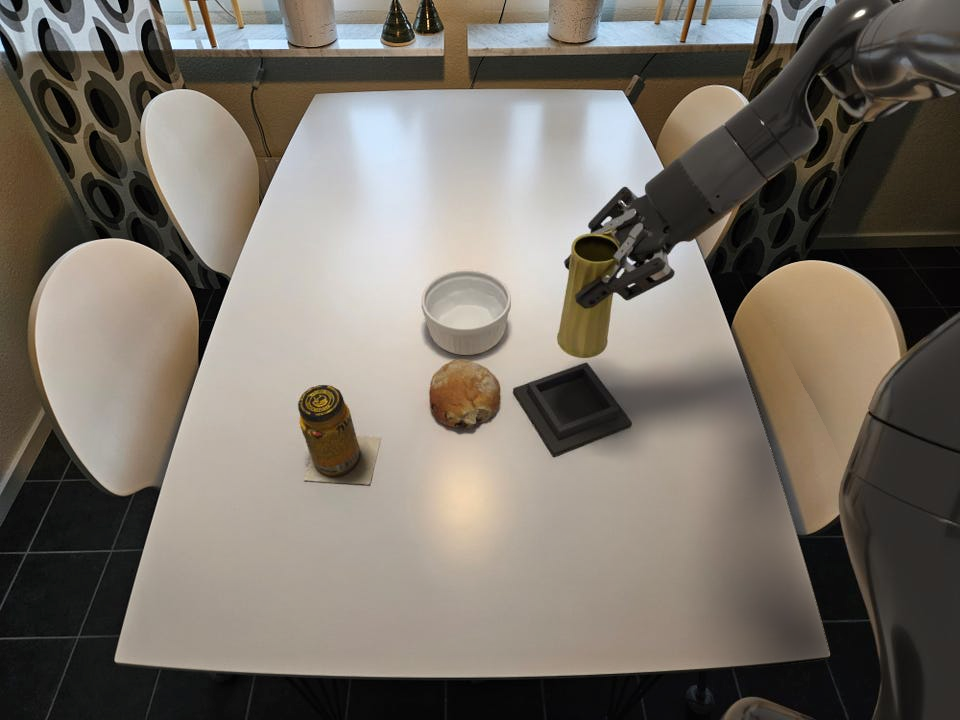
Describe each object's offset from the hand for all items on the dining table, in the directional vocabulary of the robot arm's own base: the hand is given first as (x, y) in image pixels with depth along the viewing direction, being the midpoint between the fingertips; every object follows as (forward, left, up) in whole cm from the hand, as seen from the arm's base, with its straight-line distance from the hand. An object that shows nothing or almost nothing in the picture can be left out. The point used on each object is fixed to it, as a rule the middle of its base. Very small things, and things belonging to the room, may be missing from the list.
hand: (574, 285), depth 72 cm
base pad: (0, -2, -23) cm, 23 cm away
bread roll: (+7, +11, -23) cm, 27 cm away
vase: (-1, -2, -9) cm, 10 cm away
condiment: (+5, +29, -23) cm, 38 cm away
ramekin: (+20, +5, -23) cm, 31 cm away
